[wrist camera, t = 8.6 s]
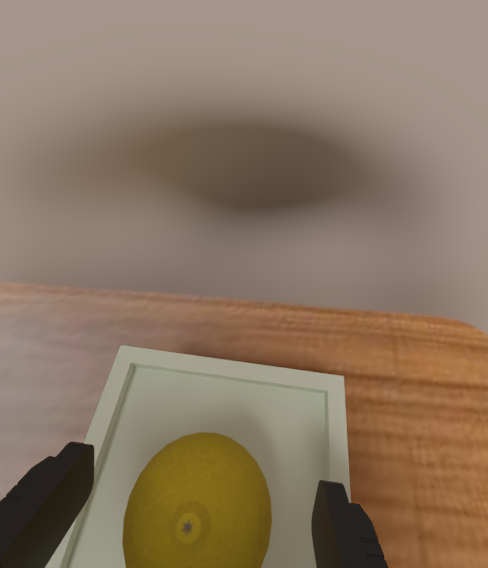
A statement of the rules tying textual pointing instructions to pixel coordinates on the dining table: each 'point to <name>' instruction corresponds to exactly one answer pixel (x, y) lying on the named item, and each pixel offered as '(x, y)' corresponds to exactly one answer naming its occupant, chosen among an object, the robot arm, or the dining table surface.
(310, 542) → the stool
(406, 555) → the dining table surface
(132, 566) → the lemon
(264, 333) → the dining table surface
